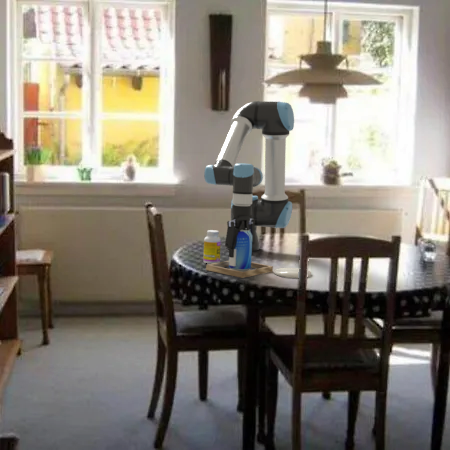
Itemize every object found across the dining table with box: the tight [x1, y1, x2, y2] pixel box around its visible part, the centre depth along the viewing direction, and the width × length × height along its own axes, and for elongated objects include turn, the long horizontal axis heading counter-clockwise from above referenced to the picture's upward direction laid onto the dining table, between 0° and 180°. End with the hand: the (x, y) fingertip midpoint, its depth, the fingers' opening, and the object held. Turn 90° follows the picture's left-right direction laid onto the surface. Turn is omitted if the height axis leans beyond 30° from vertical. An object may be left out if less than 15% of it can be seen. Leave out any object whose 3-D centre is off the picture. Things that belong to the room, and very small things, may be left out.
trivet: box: [273, 267, 312, 279], centre depth 299 cm, size 14×14×1 cm
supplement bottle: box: [202, 229, 222, 265], centre depth 314 cm, size 7×7×13 cm
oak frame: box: [205, 260, 274, 279], centre depth 302 cm, size 18×18×2 cm
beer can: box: [228, 229, 253, 272], centre depth 301 cm, size 8×8×16 cm
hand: (239, 264), depth 301 cm, fingers closed on beer can, 7 cm apart
